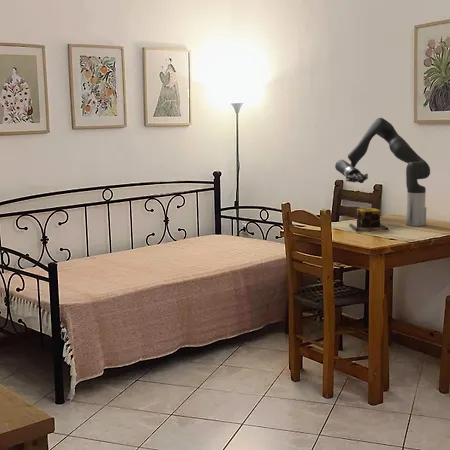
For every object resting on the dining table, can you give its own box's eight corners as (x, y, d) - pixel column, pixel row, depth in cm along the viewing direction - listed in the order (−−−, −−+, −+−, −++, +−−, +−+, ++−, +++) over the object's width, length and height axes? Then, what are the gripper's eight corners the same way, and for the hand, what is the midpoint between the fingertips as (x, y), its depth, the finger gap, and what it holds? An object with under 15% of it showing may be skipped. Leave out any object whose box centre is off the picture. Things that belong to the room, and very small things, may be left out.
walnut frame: (380, 225, 366) (380, 222, 366) (388, 230, 351) (388, 227, 351) (349, 226, 365) (349, 223, 365) (356, 231, 350) (356, 228, 350)
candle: (380, 230, 353) (381, 210, 351) (361, 230, 353) (361, 211, 351) (375, 227, 363) (375, 208, 362) (356, 227, 363) (356, 208, 361)
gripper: (340, 169, 388) (349, 176, 372) (363, 166, 389) (373, 172, 373) (341, 182, 390) (350, 189, 374) (364, 179, 392) (374, 186, 375)
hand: (361, 181), depth 373 cm, fingers closed
